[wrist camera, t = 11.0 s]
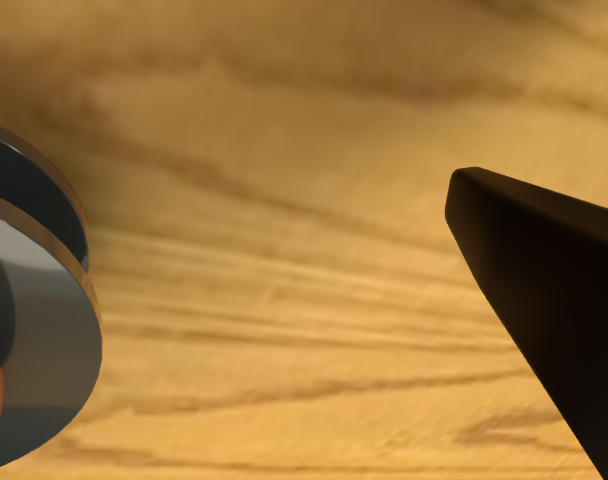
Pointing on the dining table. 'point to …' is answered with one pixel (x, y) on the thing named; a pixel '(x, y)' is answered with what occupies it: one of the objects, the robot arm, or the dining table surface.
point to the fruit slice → (1, 389)
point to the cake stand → (42, 301)
